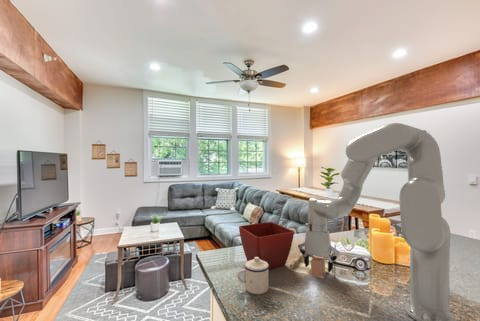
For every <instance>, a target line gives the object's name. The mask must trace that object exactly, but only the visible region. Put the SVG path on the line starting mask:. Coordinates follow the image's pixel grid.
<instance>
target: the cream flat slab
mask: <svg viewBox="0 0 480 321" xmlns="http://www.w3.org/2000/svg"><path fill="white" fill-rule="evenodd" d="M308 255H309V265H308V266H307V267H305V264H304V257H303V255H302V253H301V252H300V253H299V254H298V256H296V258H295V259H294V260H293V261H292V262H291V263H290V264H289V270H290V271H292V272H295V273H296V272H297V273H300V274H304V275H307V276H312V277H317V278H321V279H324V278H325V276H326V275H327V273H328V262H329V260H325V271H324V273H323V275H322V276H321V277H319V276H315V275H311V260H312V257H311V256H310V254H308Z"/></svg>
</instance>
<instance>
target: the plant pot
mask: <svg viewBox="0 0 480 321" xmlns="http://www.w3.org/2000/svg"><path fill="white" fill-rule="evenodd" d="M238 229H239V230H238V231H239V236H240V237H239V238H240V240H241V241H240V242H241V246H242V249H243V253H244V256H245V259H246V262H248V261H250V260H253V259H254V258H255V257H259V259H260V260H263V261H266V262H267V263H268V265H269V268H268V271H270V270H273V269H278V268H283V267H285V266H286V264H287V261H288V257H289V256H290V252H291V248H292V245H293V240H294V235H295V231H294V230H291V229H290V228H287V227H284V226H282V225H280V224H278V223H276V222H273V221H268V222H260V223H252V224H245V225H239V226H238Z"/></svg>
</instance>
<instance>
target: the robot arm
mask: <svg viewBox="0 0 480 321" xmlns="http://www.w3.org/2000/svg"><path fill="white" fill-rule="evenodd" d="M396 151H397V152H398V151H399V152H405V153H406V155H407V163H406V164H407V166H406V168H407V182H406V183H405V184H403V186H402V187H401V188H400V191H399V201H398V202H399V213H400V214H399V215H400V216H399V217H400V226H401V229H400V230H401V234H402V237H403V239H404V241H405V242H406V244H408V246H409V247H410V248H409V277H410V278H409V282H410V283H409V284H410V285H409V287H410V290H409V292H410V298H409V299H410V300H408V301H406V302H405V304H404V311H405V313H406V314H407V315H409V317H411V318H412V319H413V320H415V321H458V319H457V318H456V316H455V315H454V314H453V312H450V311H451V306H450V305H451V302H450V299H451V298H450V296H451V295H450V288H451V287H450V283H451V282H450V258H451V257H450V254H451V253H450V249H451V228H450V224H449V223H448V221H447V220H446V219H445V218H444V217H443V214H442V204H443V203H444V201H445V199H446V198H445V197H446V190H445V185H444V184H445V183H444V174H443V166H442V165H443V164H442V158H441V150H440V146H439V144H438V142H437V141H436V139H435V138H434V137H433V136H432V135H431V134H430V133H428V132H427V131H425V130H423V129H420V128H417V127H414V126H412V125H408V124H404V123H400V122H393V123H388V124H385V125H383V126H380V127H378V128H376V129H374V130H371V131H368V132H366V133H364V134H361V135H359V136H357V137H355V138H353V139H352V140H351V139H350V141H349V142H348V143H347V145H346V147H345V154H346V155H345V156H346V157H347V160H346V163H345V165H344V167H343V168H342V170H341V172H340V177H341V179H342V180H343V186H342V189H341V191H340V192H339V194H338V196H337V198H333V199H329V200H328V199H326V198H325V197H310V198H309V199H308V204H307V206H308V208H307V209H308V222H306V223H305V224H304V225H305V227H307V229H306V231H305V236H304V237H305V239H304V242H302V243H298V245H297V248H298V250H299V253H300V254H301V253H302V255H303V257H304V264H305V267H307V266H308V265H309V255H308V254H310V255H315V256H320V257H327V259H328V260H329V262H328V271H327V273H330V272H332V270H334V269H333V268H334V261H336V260H337V259H338V257H339V256H340V254H341V252H340V251H339V250H337V248H335V247H333V245H332V242H331V234H330V231H329V230H328V220H329V221H330V220H331V221H332V220H333V221H334V220H338V219H340V218H344V217H345V216H346V217H347V215H349V214H350V213H351V212H352V211H353V210H354V208H355V206H356V204H357V203H358V202H359V199H360V197H361V194H362V190H363V185H364V183H365V182H366V180H367V178H368V176H369V174H370V173H371V171H372V169H373V167H374V166H375V165H376V162H377V160H378V158H379V157H381V156H383V155H387V154H390V153H392V152H396ZM303 247H304V248H303ZM332 252H333V253H334V254H331V253H332ZM332 255H334V256H333V257H332Z"/></svg>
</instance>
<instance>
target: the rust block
mask: <svg viewBox="0 0 480 321" xmlns="http://www.w3.org/2000/svg"><path fill="white" fill-rule="evenodd" d="M324 271H325V257H320V256H314V257H313V258H312V260H311V275H310V276H312V275H315V276H314V277H316V276H319V277H318V278H320V277H321V276H322V275H323V273H324Z"/></svg>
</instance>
